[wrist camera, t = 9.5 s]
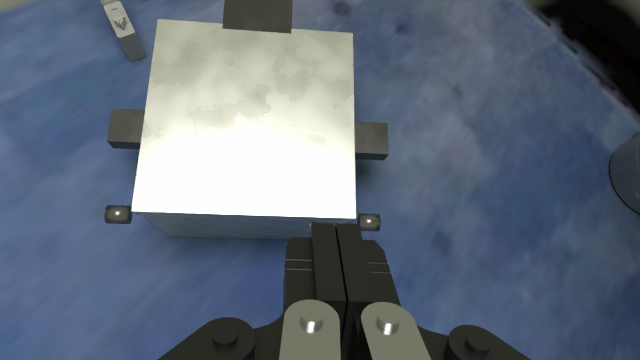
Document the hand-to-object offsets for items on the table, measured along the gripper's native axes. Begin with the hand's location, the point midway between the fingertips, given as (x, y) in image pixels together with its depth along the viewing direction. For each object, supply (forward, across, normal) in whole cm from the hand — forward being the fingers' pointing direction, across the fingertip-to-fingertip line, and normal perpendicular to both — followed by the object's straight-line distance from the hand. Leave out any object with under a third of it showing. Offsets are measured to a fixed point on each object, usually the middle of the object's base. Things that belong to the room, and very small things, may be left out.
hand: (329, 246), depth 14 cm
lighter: (+41, +19, +2) cm, 45 cm away
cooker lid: (+26, +4, +4) cm, 27 cm away
